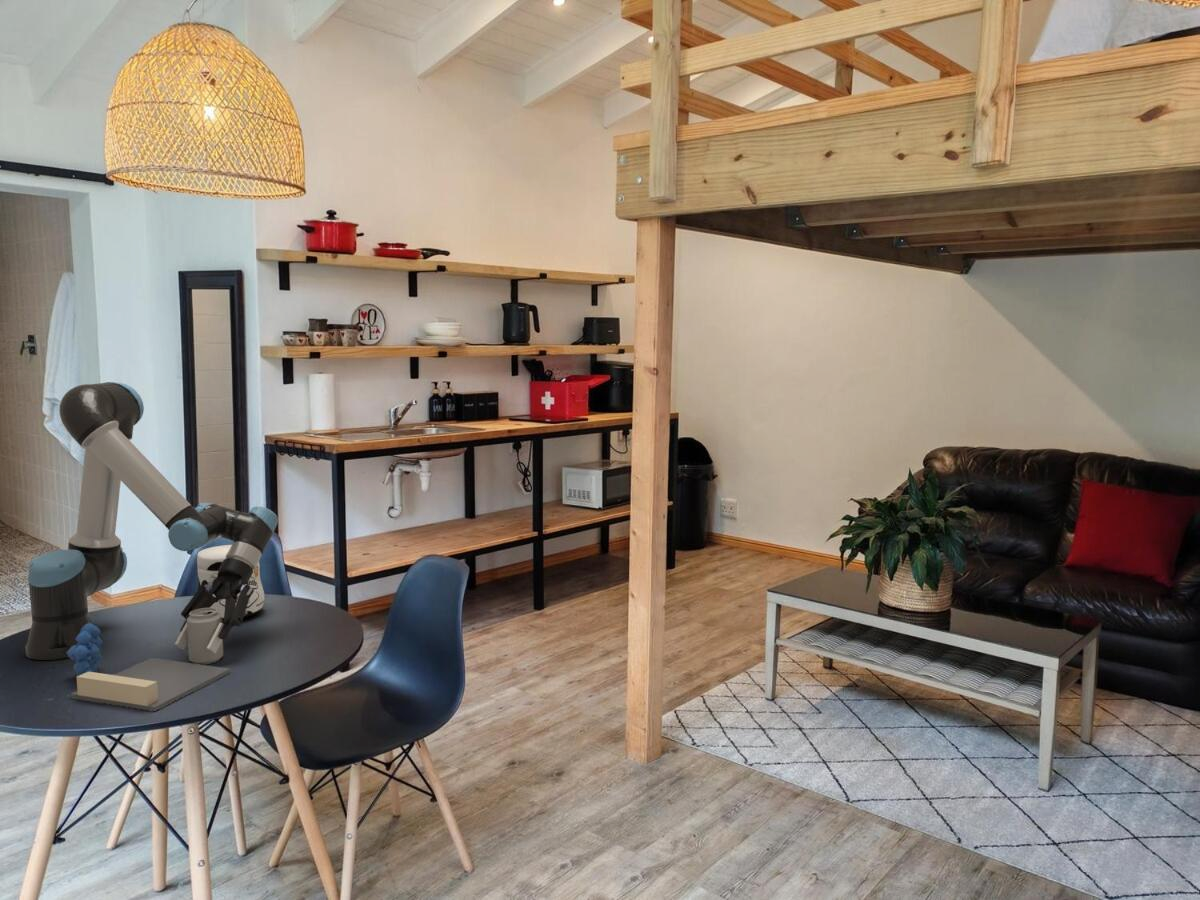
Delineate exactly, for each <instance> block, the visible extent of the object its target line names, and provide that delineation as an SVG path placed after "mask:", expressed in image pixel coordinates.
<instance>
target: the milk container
mask: <svg viewBox="0 0 1200 900" xmlns="http://www.w3.org/2000/svg"><path fill="white" fill-rule="evenodd" d="M231 546H232V544H225V545H217V546H211V547H208V548H204V549H202V550H200V551H199V552H198V553H197V556H196V566H197V577H198V578H197V579H198V580H197V581H198V586H197V591H198V590H199V588H200V585H201V583H202V581H203V580H206V581H207V582H213V581H214V580H215V579H216V578H217V576H218V570H219V568H220V566H221V564H222V562H223V560H224V559H226V557H225V556H226V555H227V553H228V551H229V549H230V548H231ZM260 565H261V564H260V561H259V562H258V563H257V565H256V567H255V569H254V570H253V574H252V576H251V578H250V579H249V581H248V583H247V584H248V585H249V586H250V587H251V588H252V589H253V590H254V592H253V594H252V595H251V597H250V598H249V601H248V605H247V608H246V611H245V614H244V617H243V619H245V618H248V617H250V616H253V615H255V614H257V613H258V612H260V611H261V610H262V609H263V606H264V603H265V590H264V586H263V583H262V580H261V574H260V568H261V567H260ZM247 584H245V585H247ZM197 591H196V592H197ZM240 593H241V592H240ZM240 593H239V594H238V595H237V601H238V598H239V595H240ZM213 596H214V597H216V596H215V595H214V594H213ZM225 601H226V599H220V600H219V601H218V602H217V603H214V604H213V605H212V606H211V607H210V608H216V609H218V613H219V614H220V615H221V619H222V620H224V612H225ZM236 604H237V603H236ZM235 607H236V605H235Z"/></svg>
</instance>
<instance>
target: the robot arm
mask: <svg viewBox="0 0 1200 900" xmlns="http://www.w3.org/2000/svg"><path fill="white" fill-rule="evenodd" d="M144 409H145V407H144V401H143V399H142V397H141V395H140V394H139V393H138V392H137V391H136V389H134V388H133V387H132V386H130V385H128V384H126V383H123V382H111V381H106V382H101V383H93V384H92V383H91V384H90V383H88V384H86V383H85V384H81V385H80V384H79V385H77V386H75V387H73V388H71V389H69V390H68V391H67V392H66V393H65V394H64V395H63V397H62V398H61V400H60V403H59V411H58V412H59V416H60V420H61V423H62V426H64V429H66V431H67V432H68V434H69V435H70V436H71V438H72V439H73V440H74V441H75V442H76V443H77V444H78V445H79V446H80V447H81V448H82V449H84V455H83V466H82V468H83V469H82V475H81V476H82V477H81V487H80V494H79V495H80V497H79V506H78V516H77V518H78V519H77V523H76V524H77V526H76V533H75V534H73V535H72V536H71V537H69V539H68V544H67V545H68V547H67V549H59V550H54V551H52V552H45V553H43V554H40V555H38V556H36V557H35V558H33V559H32V560H31V561H30V563H29V565H28V571H27V572H28V574H27V581H28V585H29V586H28V587H29V598H30V601H29V602H30V611H31V613H30V614H31V627H30V630H29V635H28V638H27V641H26V643H25V648H24V649H25V656H26V657H27V658H28V659H31V660H36V661H51V660H52V661H53V660H61V659H67V658H68V659H69V658H70V657H69V656H68V654H67V652H68V650H69V649H70V648H71V647H72V646H74V645H77V644H78V642H77V641H76V639H75V638H76V637H77V636H78V634H79V633H80V630H81V629H82V628H83V626H84V625H85V624H87V623H91V624H93V622H92V619H91V617H90V615H89V605H88V597H90V596H92V595H94V594H95V593H98V592H100V591H104V590H107V589H108V588H110V587H111V586H113V585H114V584H116V583H117V582H118V581H120V580H121V578H122V577H123V576H124V574H125V573H126V570H127V565H128V557H127V555H126V552H125V551H123V549H124V548H123V547H122V546H121V545H122V541H121V538H119V537H118V536H117V535H116V532H117V531H116V529H117V521H118V520H117V519H118V510H119V501H120V500H119V499H120V491H121V483H123V484H124V485H125V486H126V488H128V489H129V490H130V492H131V493H132V494H134V496H136V497H137V499H138V500H139V501H140V502H141V503H142V504H143V505H144V506H145V507H146V508H147V509H148V510H149V511H150V512H151V513H152V514H153V515H154V516H155V517H156V518H157V519H158V520H159V521H160V522H161V524H163V526H164V527H166V528H167V530H168V534H167V535H168V540H169V543H170V544H171V546H172V547H173V548H174V549H176V550H179V551H181V552H189V551H193V550H196V549H197V550H198V549H199V548H201V547H204V545H206V544H208V543H210V542H213V541H214V540H217V539H218V538H220V539H225V540H229V541H232V544H231V545H232V546H231V548H230V549H229V551H228V553H227V555H226V556H225V557H226V559H224V560H223V562H222V564H221V566H220V568H219V570H218V576H217V578H216V579H215V580H214V581H213V582H207V581H206V580H203V581H202V583H201V585H200V588H199V590H198V589H197V590H198V591H196V593H195V594H194V595H193V596H192V598H191V599H190V600H189V602H188V603H187V604H186V606H185V607H184V608H183V609H182V611H181V613H180V615H181V617H183V618H184V619H185V620H184V622H183V624H182V626H181V628H180V629H179V630H180V631H179V632H180V633H179V635H178V637H177V639H176V641H175V642H174V645H175V646H177V647H178V648H179V649H180V650H185V648H186V646H188V635H187V618H188V617H189V616H190V615H189V613H190V612H191V611H193V610H196V609H200V608H210V607H211V606H212V605H213V604H214V603H217V602H218V601H219V600H220V599H226V601H225V612H224V620H222V623H219V625H218V627H217V629H216V631H215V633H214V635H213V637H212V639H211V641H210V643H209V645H208V646H207V649H208V650H209V651H211V652H212V653H214V654H216V652H217V650H218V648H219V646H220V644H221V642H222V640H226V638H227V637H228V635H229V633H230V631H231V629H232V628H234V627H236V626H237V627H240V626H241V625H242V623H243V620H244V618H245V617H244V614H245V611H246V608H247V605H248V601H249V598H250V597H251V595H252V594H253V592H254V590H253V589H252V588H251V587H250V586H249V585H248V584H247V583H248V581H249V579H250V578H251V576H252V574H253V570H254V569H255V567H256V565H257V563H258V562H259V563H260V559H261V557H262V556H263V554H264V551H265V550H266V548H267V546H268V544H269V542H270V540H271V538H272V536H274V534H275V530H276V528H277V525H278V523H279V518H278V516H277V514H276V513H275V512H274V511H272V510H271V509H269V508H266V507H264V506H253V507H251V509H250V510H249V511H248V512H243V511H239V510H235V509H232V508H228V507H225V506H221V505H219V504H217V503H211V502H210V503H209V502H207V501H206V502H200V503H198V504H197V506H196V507H194V506H193V505H192V504H191V503H190V501H188V500H187V499H186V498H185V497H184V496H183V495H182V494H181V493H180V492H179V491H178V489H176V488H175V486H174V485H173V484H172V483H171V482H170V481H169V480H168V479H167V478H166V477H165V476H164V475H163V474H162V473H161V472H160V470H158V469H157V468H156V467H155V466H154V464H153V463H152V462H151V461H149V459H148V458H147V457H146V456H145V455H144V454H143V452H141V451H140V450H139V448H137V447H136V446H135V444H133V442H132V439H133V433H134V432H133V431H134V426H136V425H137V424H138V423H139V421H141V419H142V417H143V416H144V415H143V414H144V411H145V410H144ZM245 584H247V585H245ZM240 592H241V593H240ZM239 593H240V595H239V598H238V601H237V595H238V594H239ZM213 594H214V595H215V596H216V597H214V596H213ZM236 603H237V604H236ZM235 605H236V607H235ZM243 617H244V618H243Z"/></svg>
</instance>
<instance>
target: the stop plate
mask: <svg viewBox="0 0 1200 900" xmlns="http://www.w3.org/2000/svg"><path fill="white" fill-rule="evenodd" d="M230 674H231V668H227V667H220V666H219V667H218V666H212V665H208V664H203V665H199V664H194V663H193V662H192V663H191V662H184V661H178V660H169V659H164V658H163V659H162V658H154V657H151V658H149V659H147V660H144V661H142V662H140V663H137V664H135V665H133V666H130V667H129V668H126V669H123V670H122V671H119V672H117V673H114V674H109V673H102V672H101V673H99V672H96V673H95V672H86V673H84V674H82V675H79V676H78V675H76V687H77V690H76V691H74V692H72V693H70V699H72V700H80V701H84V702H85V701H86V702H91V703H98V704H103V703H106V704H105V705H109V704H113V705H112V706H115V705H120V706H119V707H122V706H126V707H125V708H128V707H133V708H132V709H134V708H139V709H138V710H140V709H145V710H144V711H146V710H152V711H151V712H153V711H156V710H158V709H160V708H162V707H163V708H165V707H167V706H169V705H171V704H173V703H175V702H176V701H175V700H177V701H178V699H179V698H181V697H183V698H185V697H186V696H185V695H187V696H189V695H190V693H191V694H192V692H193V693H194V692H196V691H198V690H200V689H202V688H204V687H206V686H208V685H210V684H212V683H214V682H216V681H217V679H218V680H220V679H222V678H223V676H224V677H225V676H228V675H230ZM221 677H222V678H221ZM219 678H220V679H219ZM188 694H189V695H188ZM184 696H185V697H184ZM181 699H182V698H181ZM179 700H180V699H179ZM174 701H175V702H174ZM172 702H173V703H172ZM170 703H171V704H170ZM168 704H169V705H168ZM166 705H167V706H166ZM164 706H165V707H164ZM163 708H162V709H163ZM160 710H161V709H160ZM158 711H159V710H158ZM156 712H157V711H156Z"/></svg>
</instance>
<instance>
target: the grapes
mask: <svg viewBox="0 0 1200 900" xmlns="http://www.w3.org/2000/svg"><path fill="white" fill-rule="evenodd" d="M101 632H102V631H101V630H100V628H99V627H98V626H97V625H94V623H92V624H91V623H87V624H85V625H84V626H83V628H82V629H81V630H80V633H79V634H78V636H77V637H76V638H75V639H76V641H77V642H78V644H77V645H74V646H72V647H71V648H70V649H69V650H68V652H67V654H68V656H69V657H68V658H70V659H71V660H73V661H75V662H76V663H75V664H74V665H73V669H74V671H75V673H76V676H79V675H82V674H84V673H86V672H95V673H98V670H99V668H98V666H97V664H98V663H99V662H100V661H101V659H102V658H103V657H102V655H101V654H100V651H101V649H100V647H101V646H102V645H103V641H102V640H101V638H100V637H99V636H100V634H101Z"/></svg>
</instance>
